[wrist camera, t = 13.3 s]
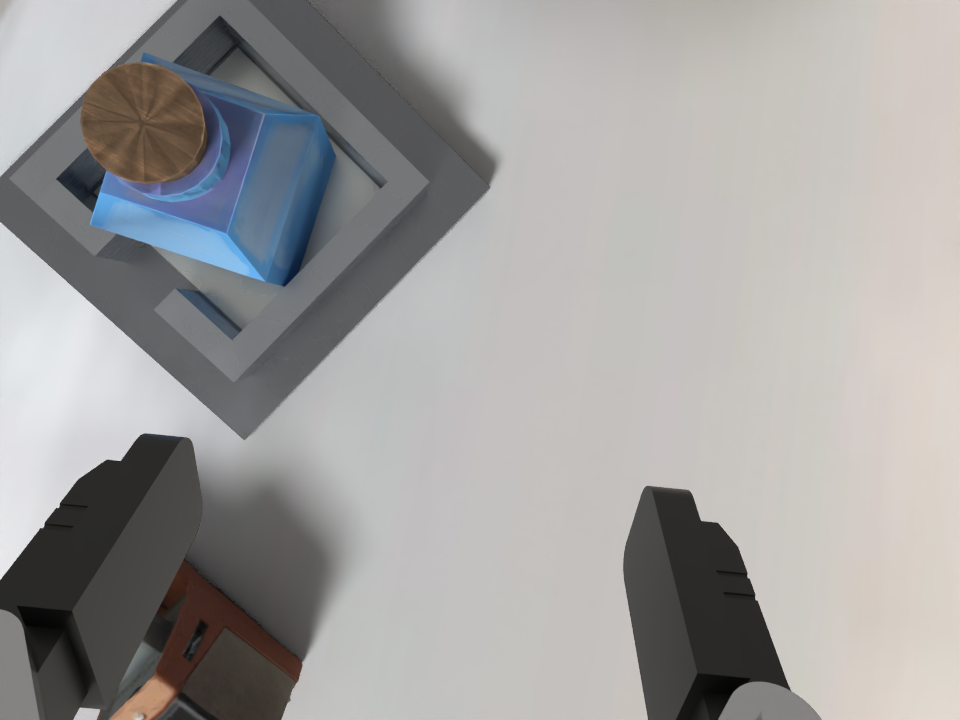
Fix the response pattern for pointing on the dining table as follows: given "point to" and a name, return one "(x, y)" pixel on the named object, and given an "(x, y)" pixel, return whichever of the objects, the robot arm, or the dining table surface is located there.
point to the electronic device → (204, 662)
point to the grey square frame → (335, 236)
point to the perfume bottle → (206, 167)
